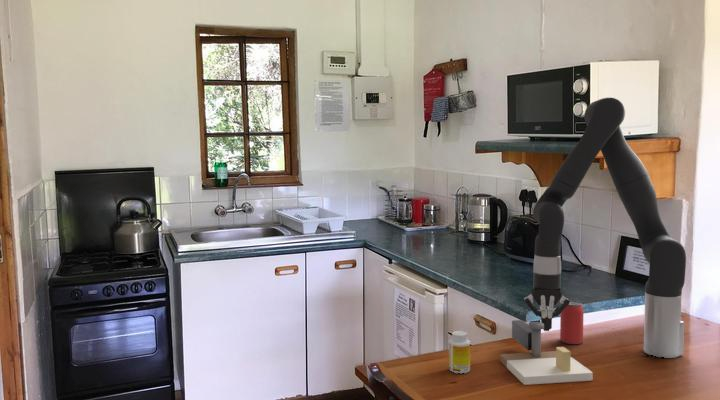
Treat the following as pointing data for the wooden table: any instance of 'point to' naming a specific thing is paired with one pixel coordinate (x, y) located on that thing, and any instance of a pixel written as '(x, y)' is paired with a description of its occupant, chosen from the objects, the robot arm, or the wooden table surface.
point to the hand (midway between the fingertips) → (546, 330)
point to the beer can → (572, 323)
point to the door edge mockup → (545, 363)
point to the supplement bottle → (459, 352)
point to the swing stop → (522, 333)
